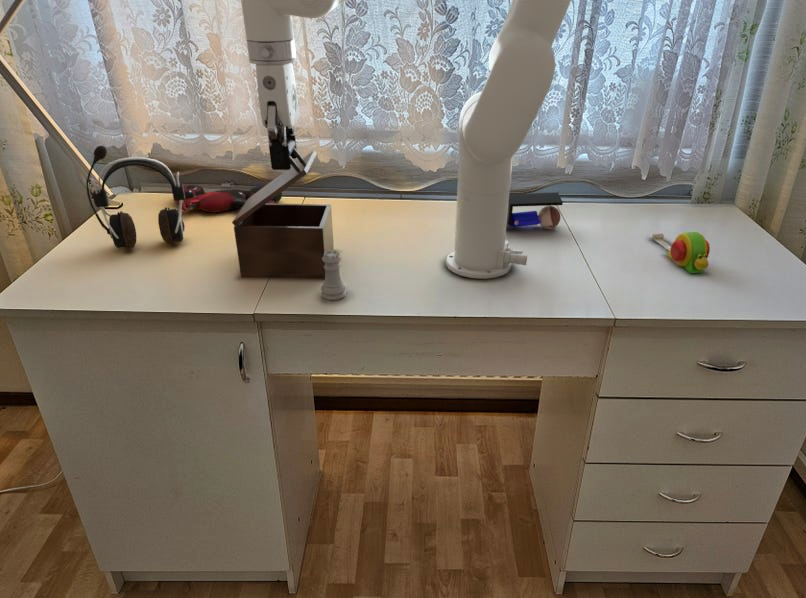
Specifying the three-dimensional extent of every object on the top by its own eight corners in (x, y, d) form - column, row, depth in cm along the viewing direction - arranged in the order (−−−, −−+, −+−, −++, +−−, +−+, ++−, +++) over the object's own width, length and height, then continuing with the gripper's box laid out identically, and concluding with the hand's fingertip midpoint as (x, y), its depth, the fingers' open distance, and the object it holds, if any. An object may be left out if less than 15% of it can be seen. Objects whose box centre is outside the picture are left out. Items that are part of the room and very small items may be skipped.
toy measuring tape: (685, 278, 125) (693, 246, 121) (642, 239, 141) (648, 210, 137) (716, 277, 126) (725, 244, 122) (670, 238, 142) (677, 209, 138)
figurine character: (494, 239, 143) (563, 232, 142) (492, 205, 139) (563, 198, 138) (490, 227, 149) (557, 221, 148) (489, 195, 144) (557, 188, 144)
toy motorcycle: (180, 201, 158) (156, 214, 143) (178, 179, 156) (153, 190, 141) (285, 206, 159) (272, 219, 144) (284, 184, 157) (271, 195, 142)
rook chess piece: (347, 300, 114) (345, 258, 110) (321, 302, 113) (318, 259, 109) (346, 289, 118) (343, 247, 113) (320, 290, 117) (317, 248, 113)
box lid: (317, 153, 121) (297, 128, 119) (307, 173, 111) (285, 146, 108) (250, 202, 126) (230, 179, 124) (234, 226, 115) (213, 201, 113)
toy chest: (333, 251, 132) (331, 204, 126) (326, 279, 121) (322, 228, 116) (255, 250, 131) (249, 202, 126) (241, 277, 121) (233, 226, 115)
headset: (100, 258, 126) (72, 153, 116) (103, 243, 132) (76, 142, 122) (194, 248, 131) (175, 146, 121) (192, 234, 137) (174, 136, 127)
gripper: (286, 60, 99) (298, 178, 109) (303, 44, 113) (313, 150, 123) (236, 60, 99) (253, 178, 109) (259, 44, 113) (273, 150, 123)
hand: (284, 162), depth 116 cm, fingers closed on box lid, 6 cm apart
